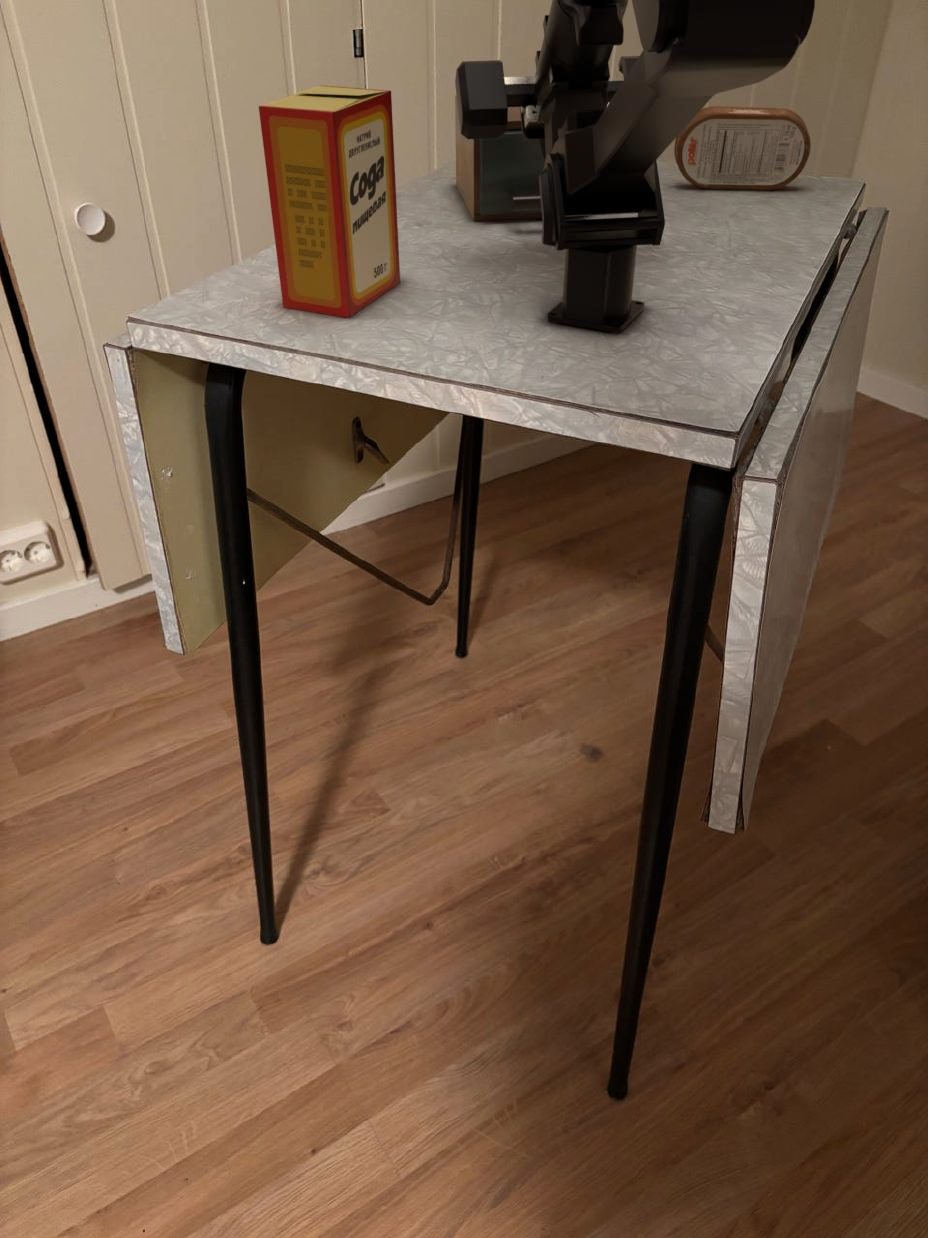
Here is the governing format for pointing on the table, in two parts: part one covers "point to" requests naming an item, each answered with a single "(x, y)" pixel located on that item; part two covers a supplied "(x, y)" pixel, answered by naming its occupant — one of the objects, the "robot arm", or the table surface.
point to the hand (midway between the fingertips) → (547, 153)
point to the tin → (743, 148)
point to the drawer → (510, 174)
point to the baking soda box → (332, 197)
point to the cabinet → (471, 169)
